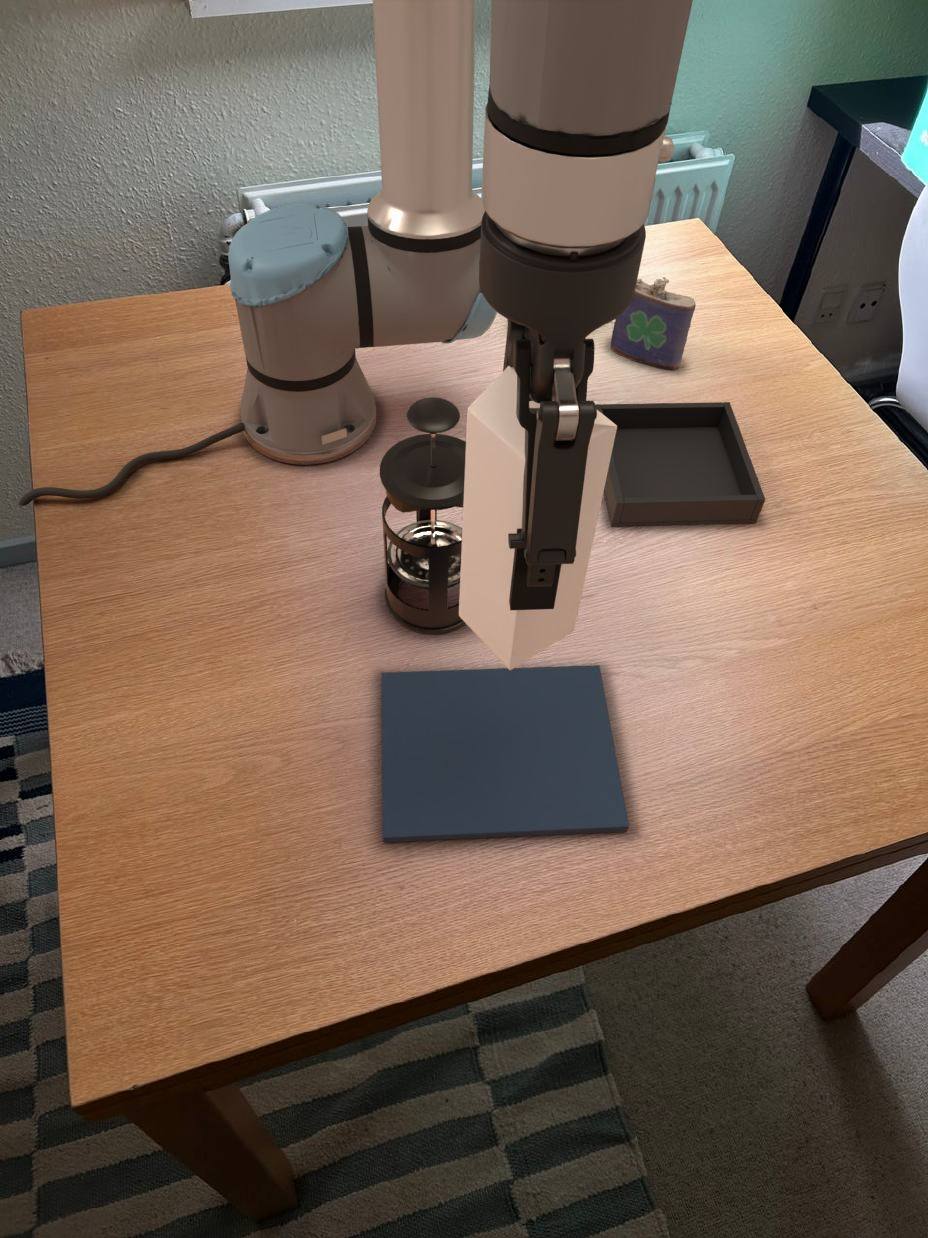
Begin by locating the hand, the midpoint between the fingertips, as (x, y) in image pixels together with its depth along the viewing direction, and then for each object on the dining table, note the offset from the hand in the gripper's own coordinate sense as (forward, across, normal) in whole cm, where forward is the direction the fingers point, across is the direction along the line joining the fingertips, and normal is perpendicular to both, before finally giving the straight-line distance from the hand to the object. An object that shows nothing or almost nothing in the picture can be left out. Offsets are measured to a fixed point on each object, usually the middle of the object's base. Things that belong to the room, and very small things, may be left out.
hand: (524, 551), depth 59 cm
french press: (+26, +18, +5) cm, 32 cm away
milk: (+8, 0, 0) cm, 8 cm away
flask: (+26, +55, -23) cm, 65 cm away
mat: (+26, 0, 0) cm, 26 cm away
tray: (+26, +34, -22) cm, 48 cm away
